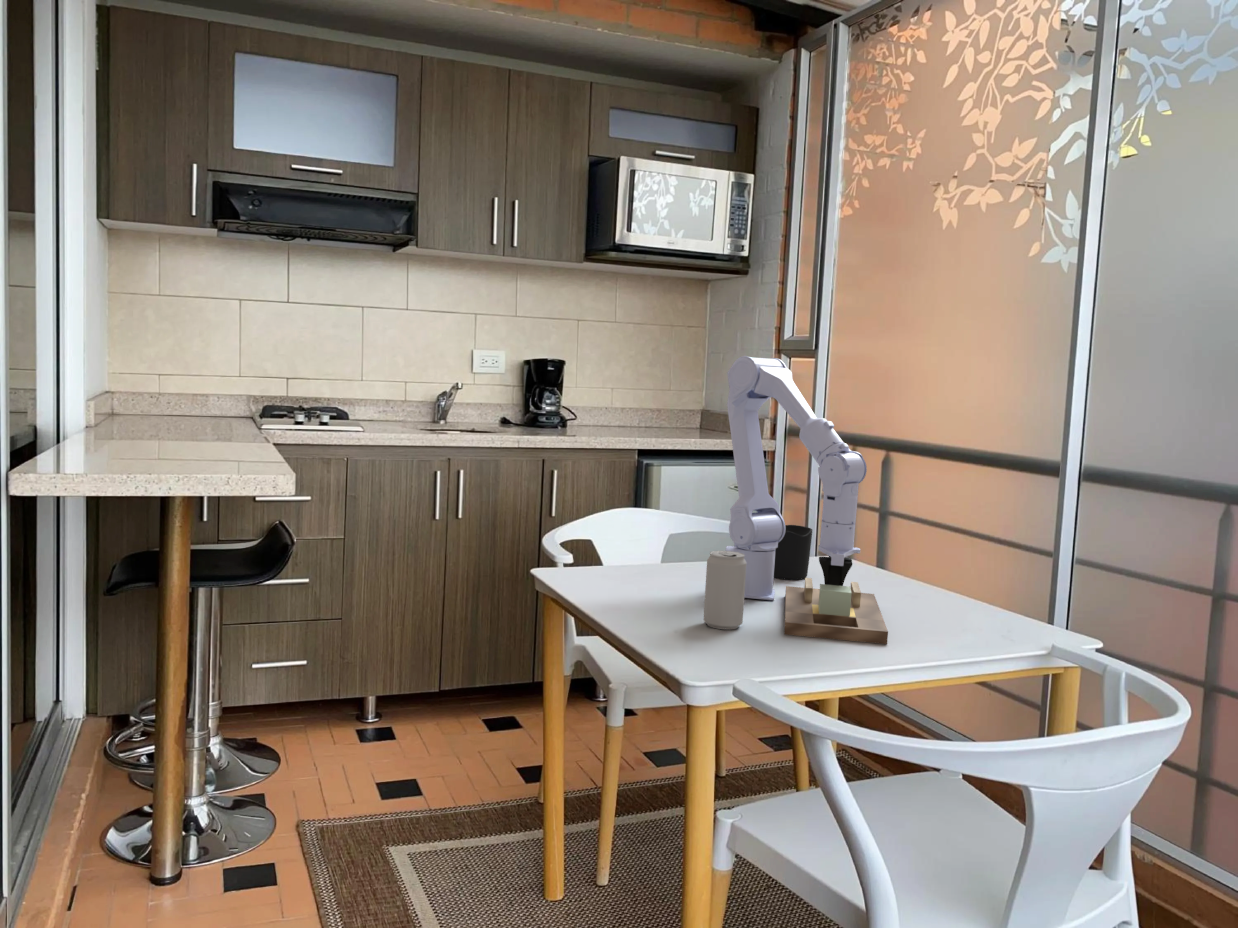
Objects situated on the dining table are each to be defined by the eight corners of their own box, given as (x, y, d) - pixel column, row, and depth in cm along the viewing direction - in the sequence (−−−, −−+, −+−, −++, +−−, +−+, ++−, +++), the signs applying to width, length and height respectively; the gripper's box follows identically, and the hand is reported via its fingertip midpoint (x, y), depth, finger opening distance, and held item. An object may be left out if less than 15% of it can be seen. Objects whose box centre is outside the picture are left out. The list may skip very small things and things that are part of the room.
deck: (784, 634, 166) (786, 606, 165) (785, 596, 193) (787, 572, 193) (887, 644, 163) (889, 616, 163) (873, 604, 191) (875, 580, 190)
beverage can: (716, 631, 165) (721, 557, 164) (695, 621, 171) (700, 550, 169) (749, 629, 168) (755, 556, 167) (728, 619, 174) (732, 548, 172)
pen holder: (808, 582, 207) (812, 533, 206) (761, 578, 209) (764, 529, 208) (809, 573, 216) (812, 526, 216) (764, 569, 218) (767, 522, 217)
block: (819, 613, 172) (820, 590, 172) (818, 606, 177) (820, 583, 177) (849, 616, 172) (851, 592, 171) (848, 609, 177) (849, 586, 176)
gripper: (865, 530, 171) (858, 610, 172) (859, 517, 185) (853, 592, 186) (821, 526, 172) (815, 606, 173) (819, 514, 186) (813, 588, 187)
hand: (832, 599), depth 180 cm, fingers closed
